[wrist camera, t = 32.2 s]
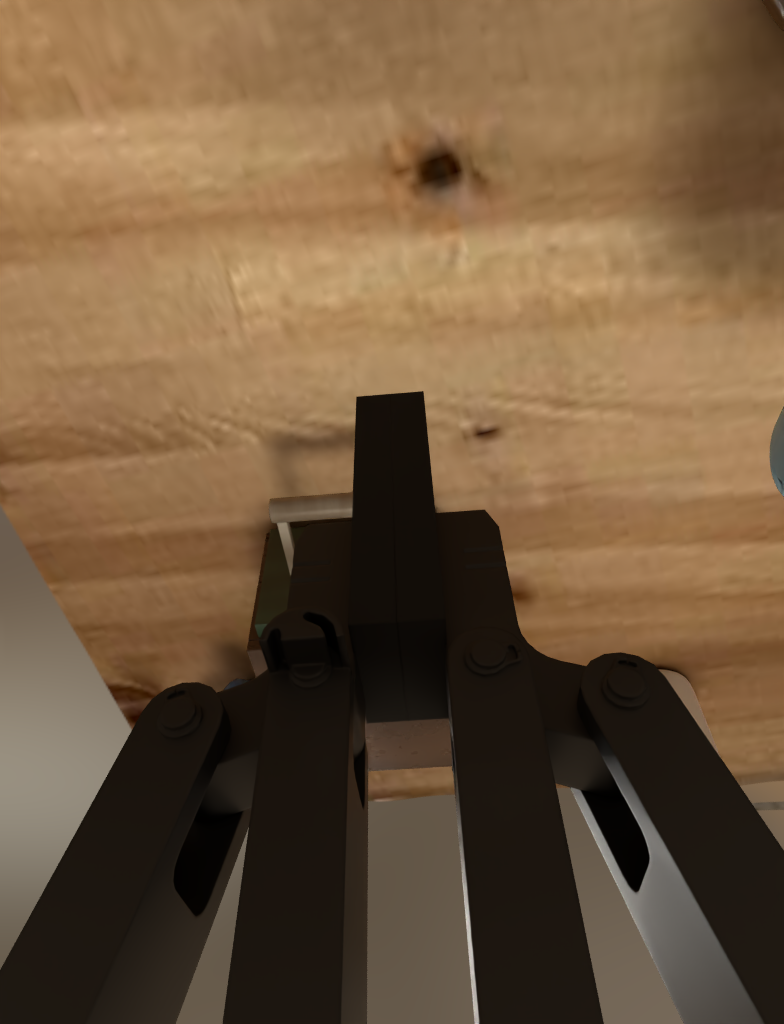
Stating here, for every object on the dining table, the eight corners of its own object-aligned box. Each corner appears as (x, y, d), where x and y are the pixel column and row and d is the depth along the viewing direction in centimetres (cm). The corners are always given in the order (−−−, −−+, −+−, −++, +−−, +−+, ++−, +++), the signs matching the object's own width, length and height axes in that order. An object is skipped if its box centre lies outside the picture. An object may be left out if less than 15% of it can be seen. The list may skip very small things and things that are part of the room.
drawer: (249, 454, 43) (228, 549, 37) (435, 440, 43) (445, 533, 36) (303, 653, 56) (294, 747, 50) (446, 643, 55) (455, 737, 49)
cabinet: (266, 533, 49) (246, 651, 41) (447, 520, 48) (461, 636, 40) (301, 661, 58) (290, 776, 51) (453, 651, 58) (465, 765, 50)
